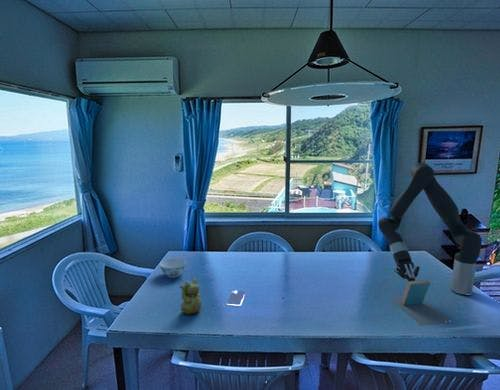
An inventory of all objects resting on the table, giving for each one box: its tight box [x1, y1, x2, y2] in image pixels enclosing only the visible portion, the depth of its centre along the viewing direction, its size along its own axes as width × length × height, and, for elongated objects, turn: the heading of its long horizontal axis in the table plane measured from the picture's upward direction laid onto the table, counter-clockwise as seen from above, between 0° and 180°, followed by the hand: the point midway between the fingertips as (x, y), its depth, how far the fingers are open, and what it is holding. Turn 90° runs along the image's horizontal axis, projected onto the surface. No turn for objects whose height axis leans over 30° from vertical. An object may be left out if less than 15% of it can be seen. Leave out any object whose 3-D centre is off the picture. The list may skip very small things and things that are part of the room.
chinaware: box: [159, 257, 187, 279], centre depth 179 cm, size 15×15×8 cm
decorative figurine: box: [179, 277, 202, 316], centre depth 140 cm, size 10×8×15 cm
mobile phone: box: [225, 289, 247, 308], centre depth 154 cm, size 8×1×15 cm
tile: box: [401, 279, 431, 305], centre depth 145 cm, size 2×10×13 cm, turn 99°
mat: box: [390, 298, 454, 326], centre depth 142 cm, size 22×16×1 cm
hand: (414, 286), depth 146 cm, fingers closed
